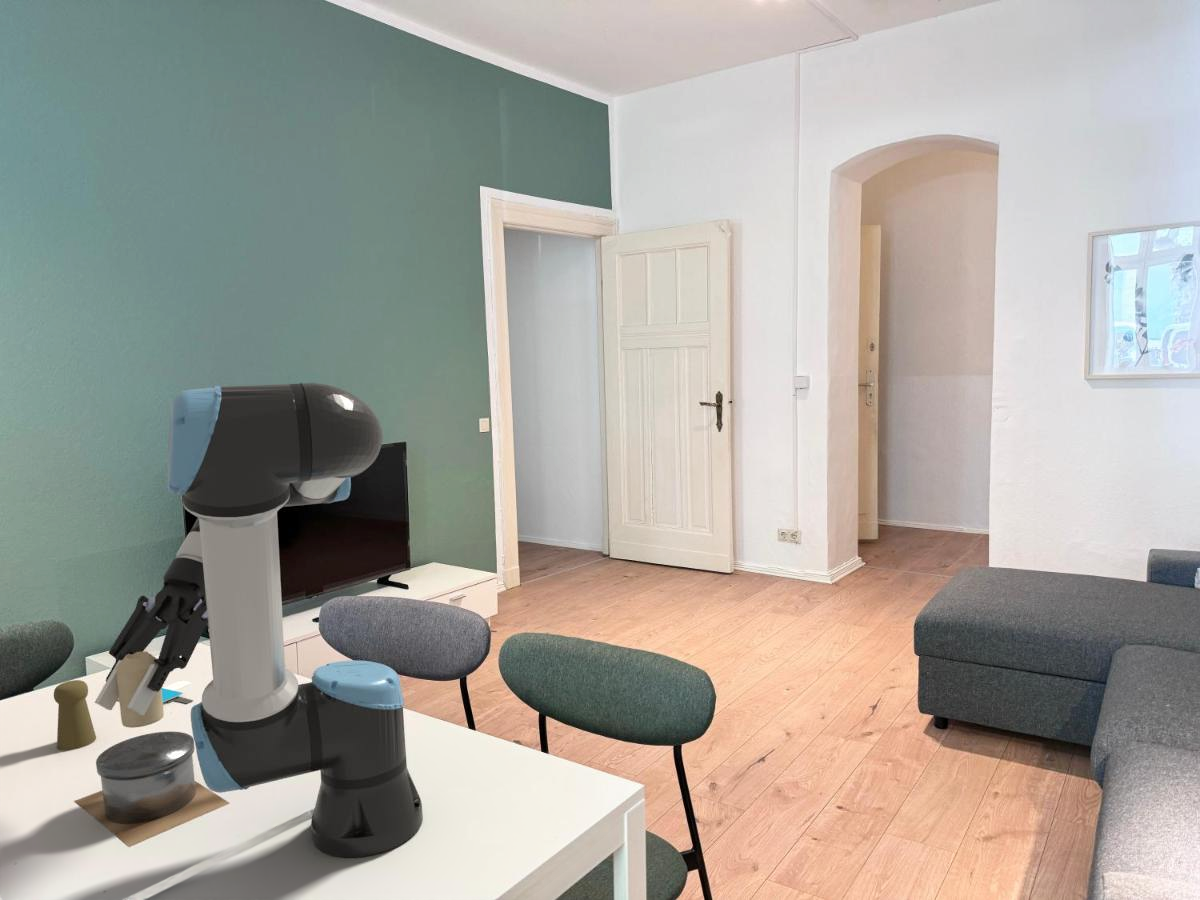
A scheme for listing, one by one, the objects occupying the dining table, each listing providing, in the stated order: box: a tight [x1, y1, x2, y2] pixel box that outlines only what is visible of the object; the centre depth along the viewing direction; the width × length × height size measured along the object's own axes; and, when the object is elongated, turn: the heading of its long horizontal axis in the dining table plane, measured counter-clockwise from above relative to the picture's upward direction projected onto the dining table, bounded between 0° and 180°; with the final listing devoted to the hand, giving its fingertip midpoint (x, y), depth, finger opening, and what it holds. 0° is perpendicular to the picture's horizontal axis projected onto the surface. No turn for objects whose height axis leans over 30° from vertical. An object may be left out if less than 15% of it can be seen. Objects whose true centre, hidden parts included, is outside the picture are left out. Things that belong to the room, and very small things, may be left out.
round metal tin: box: [95, 731, 196, 824], centre depth 128 cm, size 13×13×8 cm
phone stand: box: [161, 680, 194, 705], centre depth 174 cm, size 20×12×2 cm, turn 62°
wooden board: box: [73, 780, 230, 848], centre depth 128 cm, size 20×14×2 cm
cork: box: [53, 679, 97, 751], centre depth 152 cm, size 6×6×11 cm
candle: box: [116, 650, 165, 728], centre depth 126 cm, size 6×6×10 cm
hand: (119, 708), depth 123 cm, fingers closed on candle, 5 cm apart
